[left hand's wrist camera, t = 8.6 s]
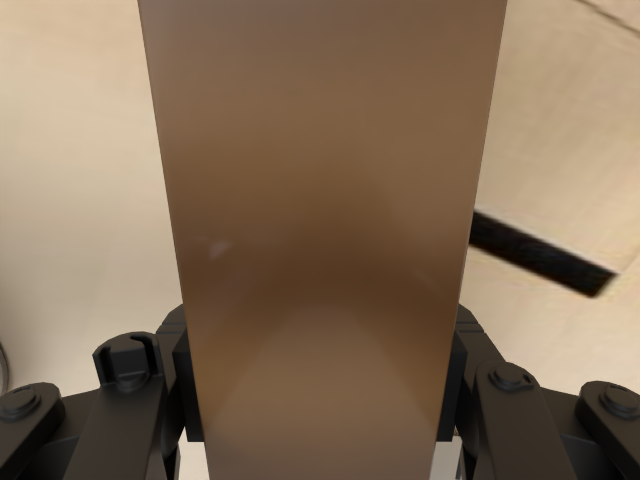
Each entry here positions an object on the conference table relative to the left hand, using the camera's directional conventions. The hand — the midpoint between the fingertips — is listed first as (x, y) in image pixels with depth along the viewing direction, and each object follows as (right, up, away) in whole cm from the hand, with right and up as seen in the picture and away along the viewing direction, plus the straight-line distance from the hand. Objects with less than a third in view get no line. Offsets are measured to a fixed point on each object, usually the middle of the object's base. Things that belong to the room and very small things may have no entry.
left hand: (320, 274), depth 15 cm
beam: (0, +28, -10) cm, 30 cm away
